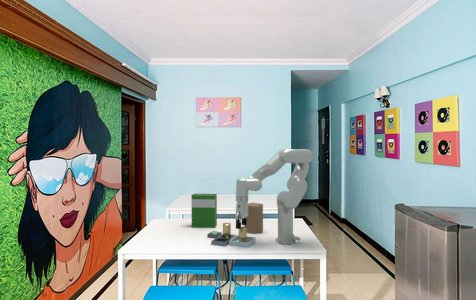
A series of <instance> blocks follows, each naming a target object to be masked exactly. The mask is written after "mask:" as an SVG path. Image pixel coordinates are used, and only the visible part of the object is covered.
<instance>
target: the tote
mask: <svg viewBox="0 0 476 300" xmlns="http://www.w3.org/2000/svg"><path fill="white" fill-rule="evenodd" d="M235 235H236V236H235V237H234V238H232V239H231V240H230V241H229V244H228V245H229V246H233V247H241V248H251V247H252V245H254V244H255V243H256V241H257V240H256V237H255V236H248V235H247V243H246V242H239V237H238V235H237V234H235Z"/></svg>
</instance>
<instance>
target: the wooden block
mask: <svg viewBox="0 0 476 300" xmlns="http://www.w3.org/2000/svg"><path fill="white" fill-rule="evenodd" d="M243 227H247V234H248V233H249V234H253V235H257V234H261V233H263V231H264V204H263V203H258V202H249V203H248V216H247V225H243Z"/></svg>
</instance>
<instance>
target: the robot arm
mask: <svg viewBox="0 0 476 300" xmlns="http://www.w3.org/2000/svg"><path fill="white" fill-rule="evenodd" d="M313 160H314V154H313V152H312V150H310V149H307V148H305V149H304V148H299V149H298V148H297V149H296V148H295V149H293V148H282V149H280V150H278V151H277V152H276V154H275V155H273V156H272V157H271V158H270V159H269V160H268V161H267V162H266V163H265V164H264V165H262V166H261V167H259V168H258V169H256V170H255V171H254V172H253V173H252V174H251V175H250V176H249V177H248V178H245V177H244V178H242V177H239V178H237V179H236V181H235V182H236V184H235V185H236V189H235V201H236V204H235V205H236V207H235V229H236V230H238V229H241V227H242V226H244V225H247V216H248V204H249V203H248V202H249V191H253V192H258V191H260V190H261V189H262V188H263V183H262V181H264V179H266V178H268V177H271V176H274V175H276V174H277V173H278V172H279V171H280V170H281V169H282V168H283V167H284V166H285V165H286V164H295V167H294V169H293V172H292V173H291V174H290V176H289V178H288V180H287V182H286V188H287V189H288V191H287V190H282V191H280V192H279V193H278V194H277V196H276V205H277V206H276V207H277V237H276V238H275V242H276V243H278V244H281V245H292V244H295V243H296V241H298V242H300V241H301V237H299V236H296V235H295V233H294V209H296V208H297V207H298V206H299V204H301V203H300V202H301V201H302V199H303V197H304V196H305V194H306V192H307V189H308V182H307V181H306V180H305V179H306V178H307V176H308V173H309V169H310V167H309V166H310V165H309V163H310V162H312V161H313Z"/></svg>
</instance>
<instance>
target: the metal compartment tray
mask: <svg viewBox="0 0 476 300" xmlns="http://www.w3.org/2000/svg"><path fill="white" fill-rule="evenodd" d="M236 235H237V234H231V238H223V233H222V235H220V236H219V237H217V238H213V239H212V240H211V241H210V245H211V246H220V247H227V246H228V245H229V241H230V240H231V239H232V238H234V237H235V236H236Z"/></svg>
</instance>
